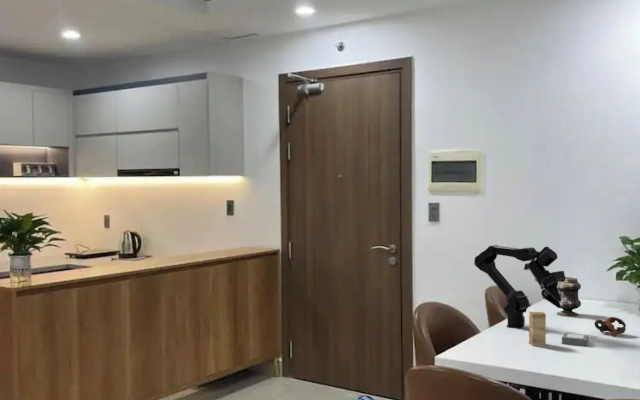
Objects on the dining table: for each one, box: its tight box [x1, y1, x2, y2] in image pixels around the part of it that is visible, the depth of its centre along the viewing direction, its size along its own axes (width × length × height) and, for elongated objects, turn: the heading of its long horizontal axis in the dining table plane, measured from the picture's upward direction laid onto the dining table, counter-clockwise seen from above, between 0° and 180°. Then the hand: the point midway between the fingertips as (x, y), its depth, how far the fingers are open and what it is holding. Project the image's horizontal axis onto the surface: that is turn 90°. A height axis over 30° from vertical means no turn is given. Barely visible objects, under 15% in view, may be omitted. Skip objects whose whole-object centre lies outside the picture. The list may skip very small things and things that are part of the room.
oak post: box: [528, 310, 547, 347], centre depth 256 cm, size 5×5×12 cm
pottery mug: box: [593, 316, 627, 338], centre depth 273 cm, size 12×10×8 cm
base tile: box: [561, 332, 590, 347], centre depth 259 cm, size 9×9×3 cm
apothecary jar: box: [556, 276, 582, 317], centre depth 317 cm, size 12×12×18 cm
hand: (560, 304), depth 270 cm, fingers open, 9 cm apart
